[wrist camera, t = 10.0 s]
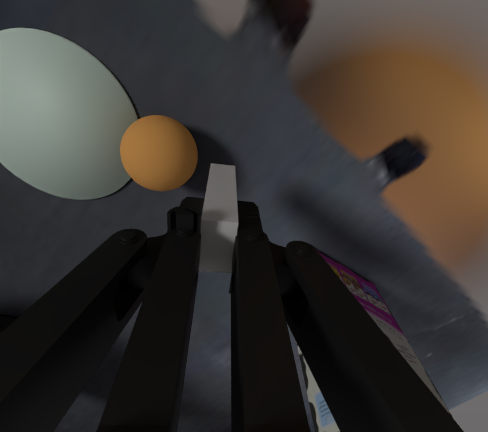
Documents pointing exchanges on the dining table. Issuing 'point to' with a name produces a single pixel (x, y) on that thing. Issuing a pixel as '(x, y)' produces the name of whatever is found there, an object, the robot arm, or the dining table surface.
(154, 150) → the ball
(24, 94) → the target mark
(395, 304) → the dining table surface
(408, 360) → the candy bar box
